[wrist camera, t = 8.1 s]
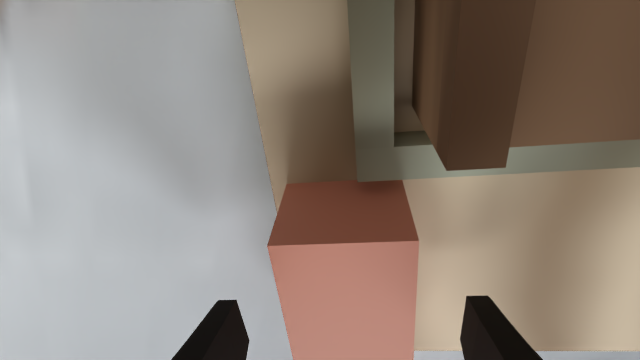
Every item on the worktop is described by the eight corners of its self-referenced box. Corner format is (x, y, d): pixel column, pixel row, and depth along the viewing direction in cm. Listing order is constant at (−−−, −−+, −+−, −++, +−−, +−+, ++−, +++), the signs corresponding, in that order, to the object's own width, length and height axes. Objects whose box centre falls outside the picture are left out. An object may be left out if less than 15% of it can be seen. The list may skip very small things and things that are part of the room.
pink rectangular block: (401, 177, 10) (419, 241, 8) (399, 343, 14) (410, 422, 12) (286, 183, 11) (267, 246, 8) (314, 343, 15) (307, 419, 12)
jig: (1344, -316, 6) (1825, -460, 4) (793, 324, 14) (864, 378, 12) (223, -132, 8) (185, -168, 6) (307, 326, 16) (301, 372, 14)
